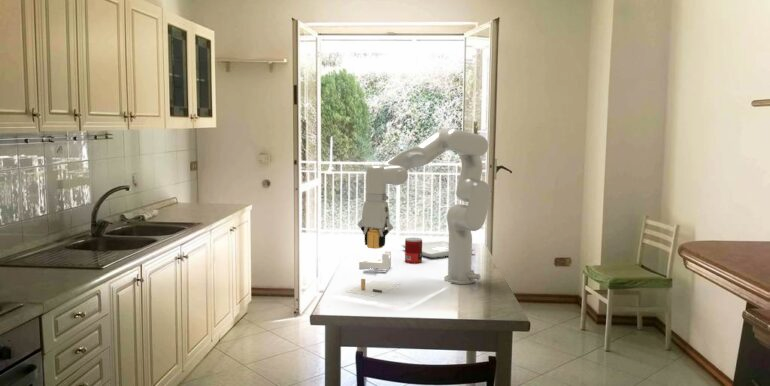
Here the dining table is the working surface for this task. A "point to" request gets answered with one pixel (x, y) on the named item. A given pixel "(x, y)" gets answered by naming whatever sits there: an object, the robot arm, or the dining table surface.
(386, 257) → the bracket
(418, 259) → the canned food
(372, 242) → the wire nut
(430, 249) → the square plate
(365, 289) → the junction plate
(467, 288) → the dining table surface
